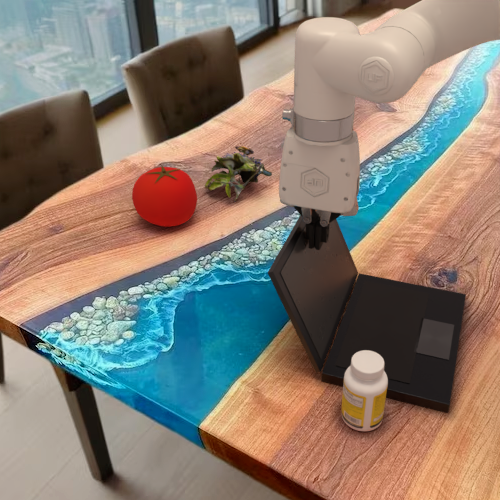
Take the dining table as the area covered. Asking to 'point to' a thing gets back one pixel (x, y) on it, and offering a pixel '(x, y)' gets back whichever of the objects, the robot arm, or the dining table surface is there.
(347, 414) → the supplement bottle
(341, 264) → the laptop screen
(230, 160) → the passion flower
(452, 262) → the dining table surface
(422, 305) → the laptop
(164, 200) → the tomato
